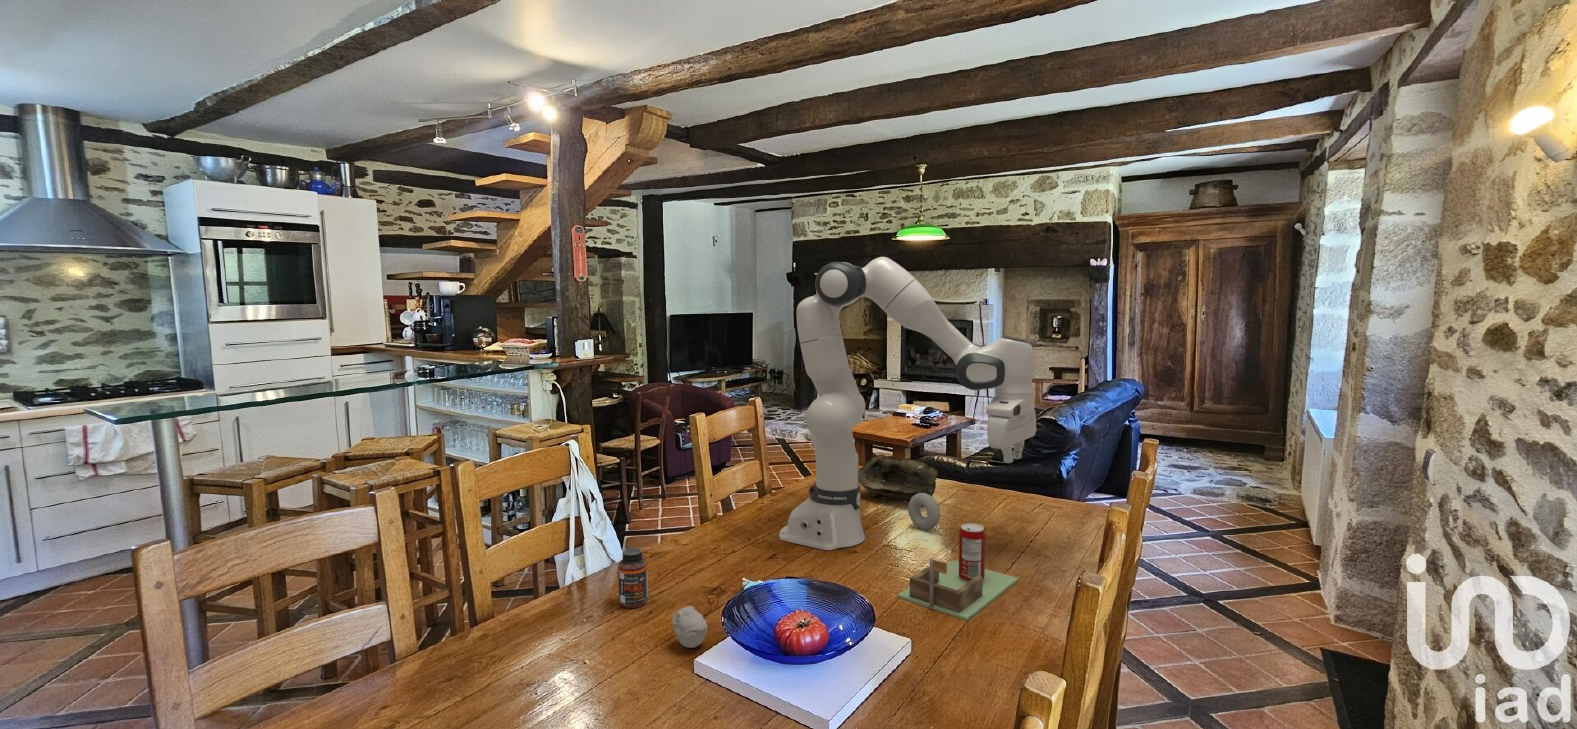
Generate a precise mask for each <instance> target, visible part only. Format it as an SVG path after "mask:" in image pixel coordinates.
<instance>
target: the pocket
mask: <svg viewBox="0 0 1577 729" xmlns="http://www.w3.org/2000/svg"><path fill="white" fill-rule="evenodd" d="M947 563H948V562H943V561H940V560H936V559H934V558H933V557H930V558H929V566H927V567H926V568H923V569H922V570H921V571H919V572H918V573H916V574H914V575H913V576H911V577H909V587H910V597H912V598H915V599H918V600H921V601H924V602H927V603H929V606H930V607H933V605H936V606H939V607H942V608H945V609H948V610H951V611H954V612H957V613H960V612H961V611H963V610H964V609H965V608H967V607H968V606H969V605H971V604H972V603H973V602H974V601H976V600H977V599H978V598H980V597H981V596H982V591H983V577H980V576H976V577H975V578H973V579H972V580H970V581H969V582H968V583H966V584H965V585H963V586H962V587H961V588H959V589H958V590H955V589H952V588H948V587H945V586H942V585H939V584H937V583H938V582H939V572H940V573H944V574H947Z"/></svg>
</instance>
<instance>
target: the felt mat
mask: <svg viewBox="0 0 1577 729" xmlns="http://www.w3.org/2000/svg"><path fill="white" fill-rule="evenodd" d="M946 563H947V574H944V573H940V572H939V582H938V583H937V584H939V585H942V586H945V587H948V588H952V589H955V590H958V589H959V588H961V587H962V586H963V585H965V584H966V583H968V582H966V581H964V580H962V579H961V578H960V577H959V560H955V559H952V560H950V561H949V562H946ZM1018 581H1019V578H1018V577H1016V576H1012V575H1009V574H1005V573H1002V572H998V571H994V570H991V569H988V568H985V576H984V579H983V591H982V596H981V597H980V598H978V599H977V600H976V601H974V602H973V603H972V604H971V605H969V606H968V607H967V608H965V609H964V610H963V611H961V612H960V613H957V612H954V611H951V610H948V609H945V608H942V607H939V606H936V605H933V607H930V606H929V603H927V602H924V601H921V600H918V599H915V598H912V597H910V586H908V587H907V588H906V589H904V590H902V591H901V592H900V593H898V594H897V597H898V598H900V599H902V600H906V601H908V602H911V603H914V604H917V605H920V606H923V607H926V608H929V609H933V610H936V611H938V612H941V613H944V614H947V615H950V616H953V617H955V618H958V619H960V620H965V621H967V622H968V621H969V620H971V619H972V618H973V617H974V616H976V615H977V614H978V613H979V612H981V611H982V610H983V609H984V608H986V607H987V606H988V605H989V604H991V603H992V602H993V601H995V600H996V599H997V598H999V597H1000V596H1001V595H1003V593H1005V592H1006V591H1007V590H1009V589H1010V588H1011V587H1012V586H1014V584H1016V583H1017V582H1018Z"/></svg>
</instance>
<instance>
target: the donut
mask: <svg viewBox="0 0 1577 729" xmlns="http://www.w3.org/2000/svg"><path fill="white" fill-rule="evenodd" d="M922 505H923V506H924V507H923V508H925V510H926V512H927V514H926V517H925V515H923V514H922V509H921V508H922V507H921V506H922ZM907 509H908V510H907V511H908V516H909V518H910V520H911V522H912V523H913V524H914V525H915V526H916V527H917V528H919V529H920V530H922V531H929V530H932V529H934V528H935V527H937V526H938V523H939V522H940V519H941V509H940V505H939V504H938V502H937V501H936V499H935V498H934V497H933V495H932V496H930V495H928V494H926V493H918V494H916V495H914V496H913V497H912V498H911V500H910V502H909V503H908V505H907Z"/></svg>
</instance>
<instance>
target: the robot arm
mask: <svg viewBox="0 0 1577 729" xmlns="http://www.w3.org/2000/svg"><path fill="white" fill-rule="evenodd" d="M814 285H815V291H816V294H814V295H812V296H808V297H806V298H804V299H802V300H801V301H800V302H799V303H798V304H797V307H796V327H797V334H798V340H799V346H800V350H801V353H802V354H801V355H802V359H803V360H802V361H803V364H804V369H805V371H806V374H807V376H808V377H809V378H810V380H811V381H812V383H813V386H814V387H815V390H816V392H817V395H818V397H816V398H815V399H814V400H813V401H812V402H811V404H810V405H809V406H808V408H807V410H806V413H805V418H804V419H805V423H806V424H805V425H806V427H807V429H808V431H809V433H810V434H811V440H812V444H813V448H814V449H813V451H814V456H815V471H816V472H815V481H813V483H812V484H811V485H810V486H809V488H808V489H807V495H809V498H807V499H806V500H804V501H803V502H802V503H800V504H799V505H798V506H796V507H795V508H794V509H793V510H792V511H791V512H790V515H789V518H788V521H787V524H786V525H785V526H783V527H782V529H781V530H780V531H779V535H778V538H779V540H780V541H784V542H787V543H792V544H796V545H797V544H798V545H801V546H806V547H810V548H815V549H819V550H822V551H823V550H824V551H832V550H835V549H839V548H841V549H842V548H848V547H853V546H856V545H859V544H862V543H863V542H864V541H865V539H866V536H865V532H864V529H863V528H864V527H863V525H862V519H861V518H862V517H861V510H860V508H861V503H862V500H861V499H862V495H861V494H862V492H861V484H860V483H859V479H858V470H859V455H858V452H857V450H856V445H855V442H854V436H853V432H854V431H853V430H854V429H853V428H854V427H855V426H857V425H858V424H859V423H860V422H861V420H862V419H863V418H864V415H865V411H866V402H865V399H864V397H863V395H862V394H861V393H860V390H859V388H858V385H857V382H856V380H855V377H854V374H853V372H852V370H851V368H850V367H851V366H850V364H849V361H848V356H847V351H846V347H845V342H844V338H843V334H842V329H841V324H840V312H842V311H844V310H845V309H847V308H849V307H851V306H853V305H854V304H857V302H859V301H860V300H861V299H862V298H868V299H869V300H871V301H873V302H874V303H875V304H876V305H877V306H879V308H880V309H882V311H884V313H885V314H886V315H887V316H888V317H889V318H891V319H892V320H893V321H894V322H896V323H897V324H899V325H900V326H902V327H903V328H904V329H908V330H912V331H915V332H918V333H920V334H923V335H925V336H926V337H928V338H929V339H930V340H932V341H933V342H934V343H935V344H936V345H937V346H938V347H939V348H940V349H941V350H942V351H943V352H944V353H946V355H948V357H950V358H951V359H952V360H953V362H954V364H955V377H956V379H957V381H958V383H959V384H960V385H962V386H963V387H964V388H966V389H968V390H972V391H982V390H987V389H992V388H993V389H994V396H993V398H992V400H991V401H990V402H989V403H988V404H987V406H986V407H985V413H986V415H988V416H987V417H988V418H987V423H986V426H987V427H986V428H987V429H986V430H987V433H986V434H987V437H986V438H987V443H988V446H989V447H990V448H992V449H996V450H1001V452H1002V454H1003V462H1004V463H1005V464H1011V463H1013V462H1014V460H1019V459H1022V455H1023V454H1022V453H1023V449H1024V446H1025V440H1028V439H1029V438H1033V437H1035V435H1036V432H1037V417H1036V416H1037V415H1036V410H1035V408H1034V392H1035V391H1034V388H1033V379H1034V376H1035V356H1034V349H1033V346H1032V344H1031V343H1030V342H1029V341H1028V340H1026V339H1024V338H1021V337H1015V336H1008V335H1004V336H999V337H998V339H995V340H994V341H992V342H991V343H988V344H986V345H984V346H983V345H980V344H976V343H974V342H972V341H971V340H969V339H968V338H967V337H966V336H965V335H964V334H963V333H962V332H961V331H960V330H959V329H958V328H956V327H955V326H954V325H953V323H951V322H950V321H949V320H948V319H947V318H946V317H945V315H944V314H943V313H942V310H940V308H939V307H938V305H937V304H936V302H935V300H934V299H933V297H932V296H931V295H930V293H929V292H928V290H927V289H926V288H925V287H924V286H923V285H922V284H921V283H920V281H918V280H917V279H916V278H915V277H914V276H913V274H911V273H910V272H909V271H907V270H906V268H904V267H902V266H901V265H900V264H899V263H897V262H896V261H894V260H892V259H891V258H889V257H887V256H879V257H876V258H874V259H872V260H871V261H870V262H868V263H867V264H866V265H865V266H864V267H861V266H858V265H853V264H852V263H849V262H845V261H833V262H829V263H828V264H826V265H824V266H823V267H822V268H821V269H820V270H819V271H818V272H817V275H816V277H815V282H814ZM1012 449H1013V450H1012Z"/></svg>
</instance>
